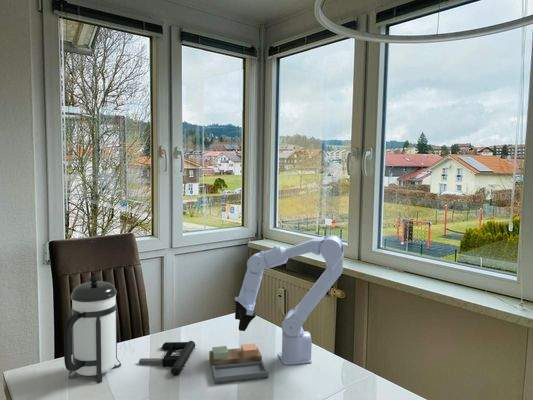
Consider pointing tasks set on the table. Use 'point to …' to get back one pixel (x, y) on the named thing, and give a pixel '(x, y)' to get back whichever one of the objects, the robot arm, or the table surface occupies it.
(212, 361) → the walnut ledge
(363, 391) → the table surface
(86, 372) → the coffee press
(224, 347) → the sage tile
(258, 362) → the charcoal tray
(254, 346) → the terracotta block
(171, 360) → the door handle
